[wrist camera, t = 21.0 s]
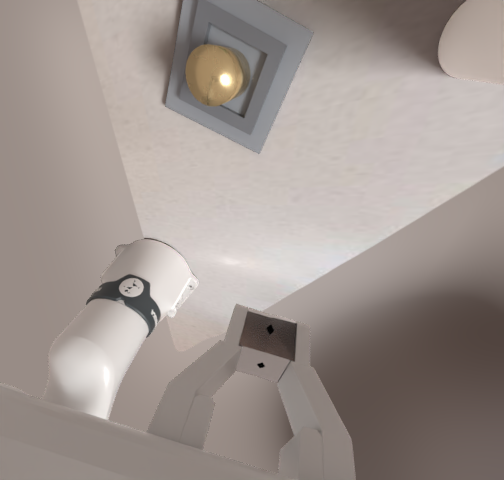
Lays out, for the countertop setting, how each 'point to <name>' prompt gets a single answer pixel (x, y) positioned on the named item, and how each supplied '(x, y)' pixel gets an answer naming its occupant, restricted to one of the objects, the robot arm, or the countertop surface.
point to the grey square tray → (257, 54)
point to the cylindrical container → (474, 42)
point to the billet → (217, 74)
